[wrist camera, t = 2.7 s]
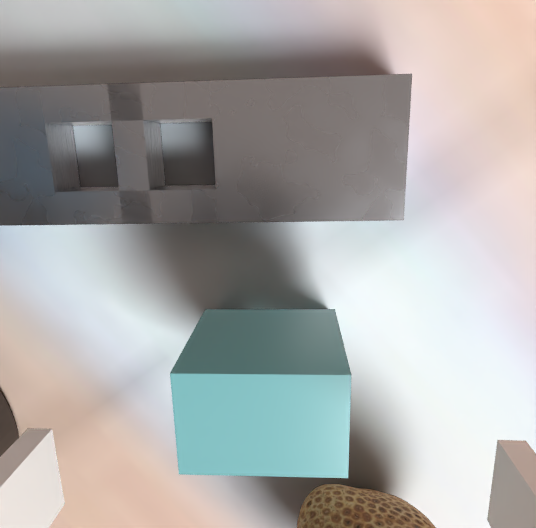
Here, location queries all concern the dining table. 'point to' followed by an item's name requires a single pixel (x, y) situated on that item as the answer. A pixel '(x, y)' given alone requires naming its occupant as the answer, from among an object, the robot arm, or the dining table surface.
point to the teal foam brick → (263, 395)
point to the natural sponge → (357, 509)
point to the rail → (225, 151)
